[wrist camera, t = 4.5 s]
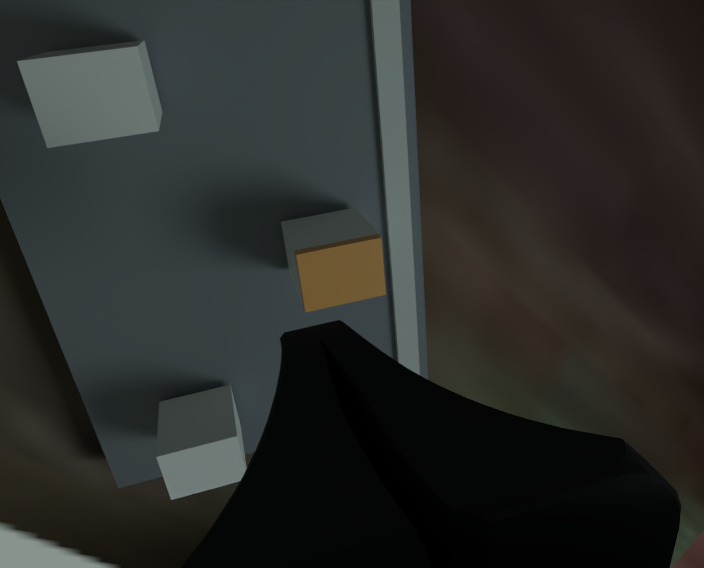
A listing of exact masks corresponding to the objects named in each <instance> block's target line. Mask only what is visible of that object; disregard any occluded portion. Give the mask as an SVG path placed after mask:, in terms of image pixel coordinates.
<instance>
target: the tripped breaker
mask: <svg viewBox="0 0 704 568" xmlns="http://www.w3.org/2000/svg"><path fill="white" fill-rule="evenodd" d="M281 226H282V232H283V238H284V244H285V249H286V255H287V261H288V267H289V273H290V276H291V278H292V281H293V283H294V286H295V288H296V291H297V293H298V295H299V298H300V300H301V303H302V305H303V308H304V310H305V313H306V312H310V311H315V310H319V309H324V308H328V307H333V306H337V305H342V304H346V303H351V302H355V301H360V300H364V299H369V298H373V297H378V296H382V295H386V287H385V275H384V263H383V251H382V239H381V237H380V235H379V234H378V233H377V232H376V231H375V230H374V229H373V227H372V226H371V225H370V224H369V223H368V222H367V220H366V219H365V218H364V217H363V216H362V215H361V214H360V212H359V211H358V210H357V209H356V208H350V209H345V210H340V211H335V212H329V213H324V214H319V215H313V216H308V217H303V218H298V219H292V220H287V221H282V222H281Z"/></svg>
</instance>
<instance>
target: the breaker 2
mask: <svg viewBox="0 0 704 568" xmlns="http://www.w3.org/2000/svg"><path fill="white" fill-rule="evenodd" d="M156 458H157V461H158V464H159V467H160V470H161V472H162V475H163V478H164V481H165V484H166V487H167V489H168V492H169V495H170V498H171V500H173V499H177V498H180V497H184V496H188V495H191V494H195V493H199V492H202V491H206V490H210V489H213V488H217V487H220V486H224V485H228V484H231V483H235V482H239V481H241V479H242V477H243V475H244V473H245V471H246V469H247V467H246V460H245V453H244V446H243V439H242V432H241V425H240V421H239V417H238V413H237V409H236V405H235V401H234V397H233V393H232V389H231V385H227V386H223V387H219V388H214V389H210V390H206V391H202V392H198V393H194V394H190V395H185V396H181V397H177V398H173V399H169V400H165V401H161V402H159V415H158V433H157V450H156Z"/></svg>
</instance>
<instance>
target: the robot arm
mask: <svg viewBox="0 0 704 568" xmlns="http://www.w3.org/2000/svg"><path fill="white" fill-rule="evenodd" d="M280 342H281V349H282V353H281V365H280V372H279V377H278V382H277V388H276V392H275V396H274V399H273V403H272V406H271V410H270V413H269V417H268V420H267V423H266V425H265V428H264V431H263V434H262V436H261V439H260V441H259V443H258V446H257V448H256V451H255V453H254V455H253V457H252V459H251V461H250V463H249V465H248V467H247V469H246V471H245V473H244V475H243V477H242V479H241V481H240V483H239V485H238V486H237V488H236V490H235V492H234V493H233V495H232V496H231V498H230V500H229V501H228V503H227V504H226V506H225V507H224V509H223V511H222V512H221V514H220V515H219V517H218V518H217V520H216V522H215V523H214V525H213V526H212V527H211V529H210V530H209V532H208V533H207V535H206V536H205V537H204V538H203V540H202V541H201V542H200V544H199V545H198V546H197V547H196V549H195V550H194V551H193V553H192V554H191V555H190V556H189V558H188V559H187V560H186V562H185V563H184V564H183V565H182V567H181V568H669V567H670V563H671V559H672V555H673V551H674V547H675V542H676V538H677V534H678V530H679V524H680V511H681V504H680V501H679V497H678V494H677V491H676V490H675V489H674V488H673V487H672V486H671V485H670V484H669V483H668V482H667V481H666V480H665V479H664V478H663V477H662V476H661V475H660V474H659V473H658V472H657V471H656V470H655V469H654V468H653V467H652V466H651V465H650V464H649V463H648V462H647V461H646V460H645V459H644V458H643V457H642V456H641V455H640V454H639V453H638V452H637V451H635V450H634V449H633V448H632V447H631V446H630V445H629V444H627V443H626V442H625V441H624V440H623V439H620V438H614V437H609V436H603V435H598V434H592V433H587V432H581V431H575V430H570V429H565V428H560V427H556V426H552V425H548V424H544V423H541V422H537V421H533V420H529V419H525V418H522V417H519V416H515V415H512V414H509V413H506V412H503V411H500V410H497V409H494V408H492V407H489V406H486V405H483V404H480V403H478V402H475V401H473V400H470V399H468V398H465V397H463V396H461V395H458V394H456V393H454V392H452V391H450V390H448V389H445V388H443V387H441V386H439V385H437V384H435V383H433V382H431V381H429V380H427V379H425V378H424V377H422V376H420V375H418V374H417V373H415V372H413V371H411V370H410V369H408V368H406V367H405V366H403V365H402V364H400V363H399V362H397V361H396V360H394V359H393V358H391V357H390V356H388V355H387V354H385V353H384V352H382V351H381V350H380V349H378V348H377V347H375V346H374V345H373V344H371V343H370V342H369V341H367V340H366V339H365V338H363V337H362V336H361V335H359V334H358V333H357V332H356V331H354V330H353V329H352V328H351V327H349V326H348V325H347V324H345V323H344V322H342V321H341V320H337V321H332V322H328V323H323V324H319V325H315V326H310V327H306V328H301V329H297V330H293V331H288V332H284V333H283V335H282V336H281V337H280Z"/></svg>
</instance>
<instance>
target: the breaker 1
mask: <svg viewBox="0 0 704 568" xmlns="http://www.w3.org/2000/svg"><path fill="white" fill-rule="evenodd" d="M17 63H18V66H19V69H20V72H21V75H22V77H23V80H24V83H25V86H26V89H27V92H28V94H29V97H30V100H31V103H32V106H33V109H34V111H35V114H36V117H37V120H38V123H39V126H40V129H41V131H42V134H43V137H44V140H45V143H46V146H47V148H52V147H58V146H65V145H71V144H78V143H84V142H91V141H98V140H104V139H111V138H117V137H124V136H130V135H137V134H143V133H150V132H156V131H159V128H160V123H161V117H162V108H161V104H160V100H159V96H158V92H157V88H156V84H155V80H154V76H153V72H152V68H151V64H150V60H149V56H148V52H147V48H146V44H145V40H141V41H133V42H125V43H117V44H109V45H100V46H92V47H84V48H76V49H68V50H60V51H51V52H44V53H41V54H38V55H35V56H32V57H29V58H25V59H22V60H19V61H17Z"/></svg>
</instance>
